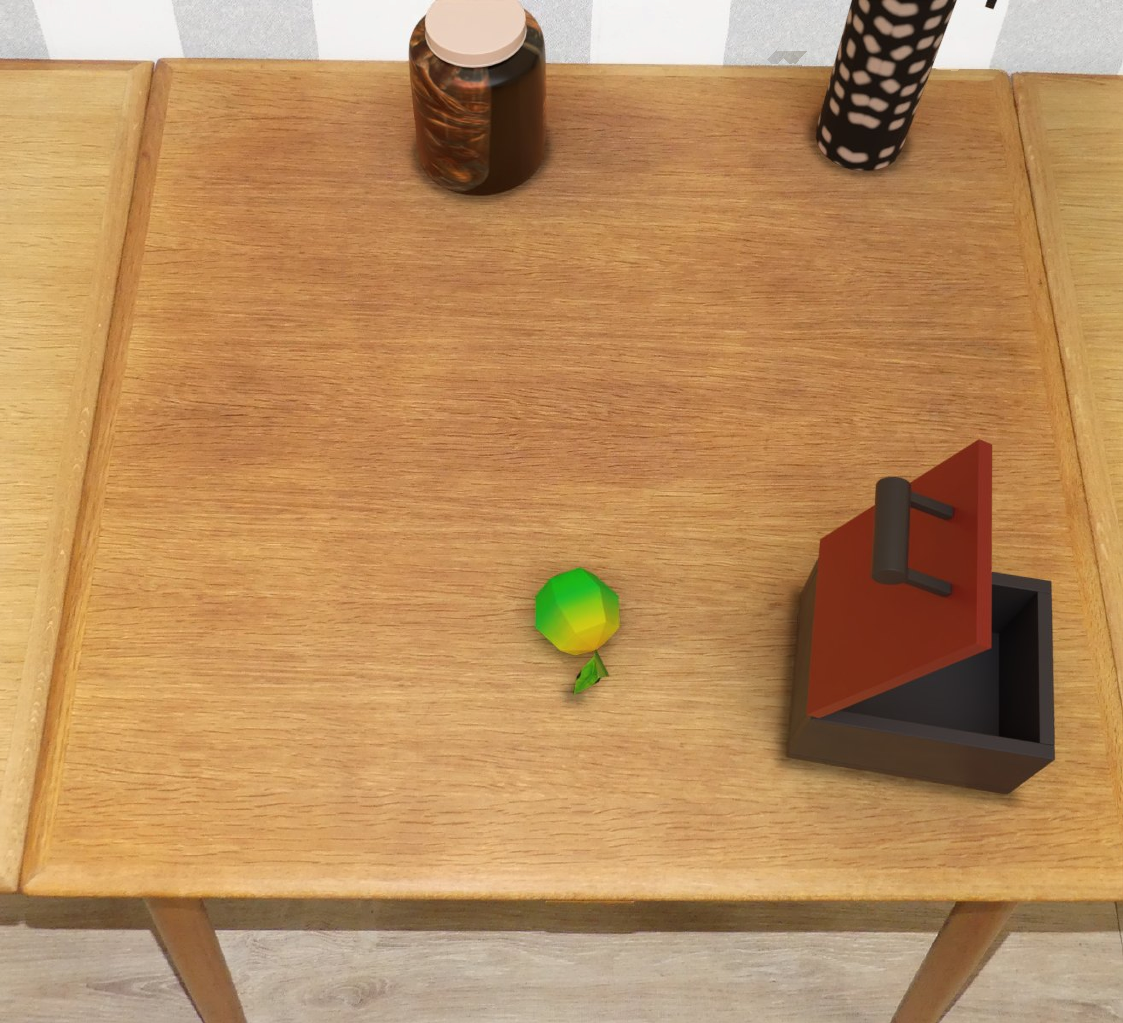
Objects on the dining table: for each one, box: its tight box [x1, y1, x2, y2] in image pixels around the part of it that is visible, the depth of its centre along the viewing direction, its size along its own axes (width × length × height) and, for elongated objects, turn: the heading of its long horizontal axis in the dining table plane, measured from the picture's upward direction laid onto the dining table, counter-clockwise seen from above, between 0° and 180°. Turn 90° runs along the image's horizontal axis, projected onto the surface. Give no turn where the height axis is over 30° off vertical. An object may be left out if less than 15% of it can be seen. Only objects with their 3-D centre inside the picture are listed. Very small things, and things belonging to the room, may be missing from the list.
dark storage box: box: [785, 556, 1056, 795], centre depth 87 cm, size 16×13×9 cm
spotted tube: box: [815, 0, 958, 172], centre depth 108 cm, size 8×8×20 cm
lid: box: [806, 438, 993, 718], centre depth 75 cm, size 17×13×6 cm
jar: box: [408, 0, 547, 196], centre depth 108 cm, size 12×12×15 cm
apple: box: [534, 566, 621, 696], centre depth 90 cm, size 7×6×9 cm
